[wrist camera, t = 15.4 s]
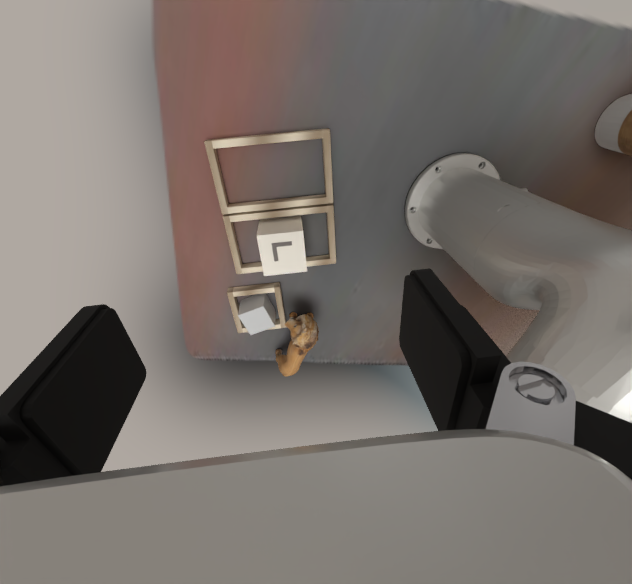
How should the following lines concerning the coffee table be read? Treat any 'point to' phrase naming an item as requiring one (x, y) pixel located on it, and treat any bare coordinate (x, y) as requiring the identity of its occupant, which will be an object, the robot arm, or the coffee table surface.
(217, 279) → the coffee table surface
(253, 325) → the grey block
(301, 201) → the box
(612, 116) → the coffee cup
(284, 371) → the lion figurine
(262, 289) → the small box
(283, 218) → the letter cube
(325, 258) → the middle box
